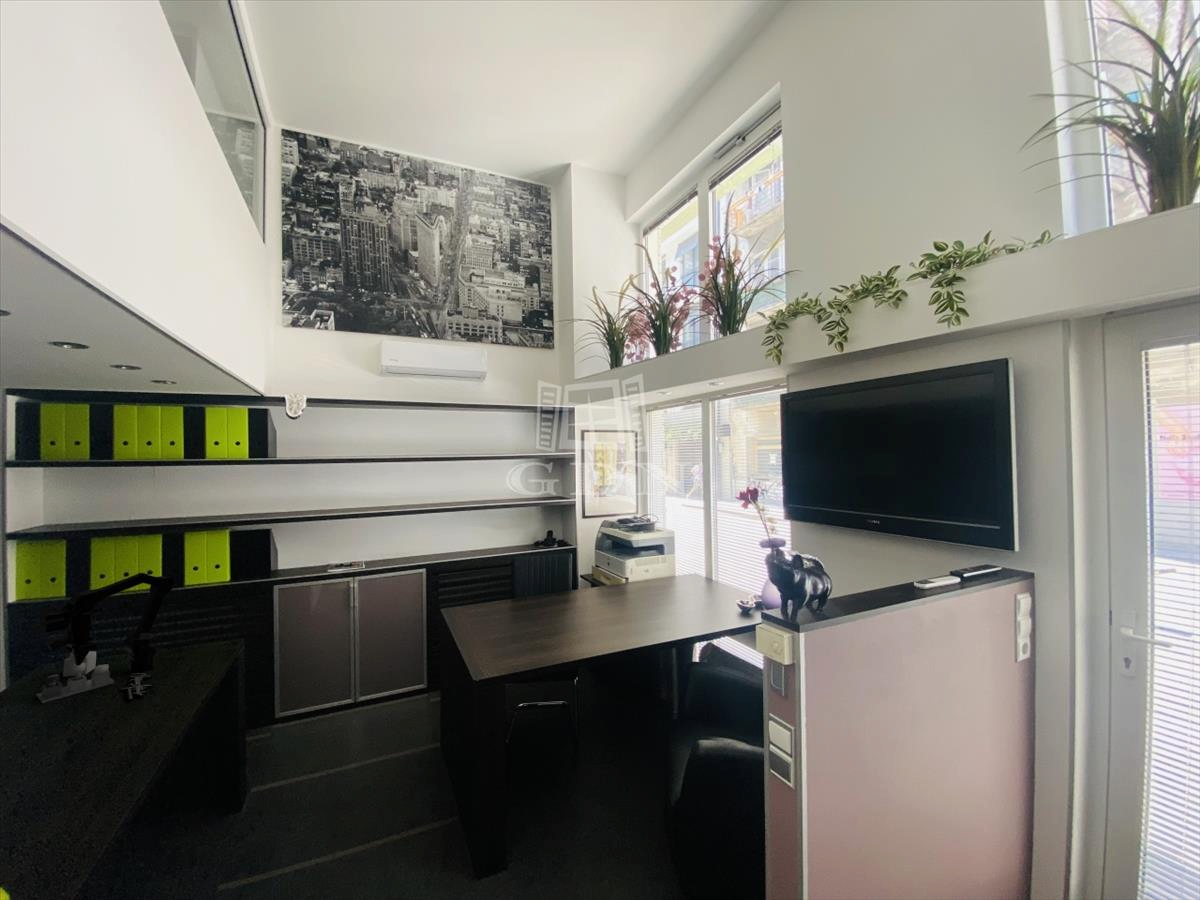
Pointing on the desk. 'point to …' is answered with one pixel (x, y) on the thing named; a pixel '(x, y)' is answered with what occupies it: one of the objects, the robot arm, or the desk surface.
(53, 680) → the pot knob
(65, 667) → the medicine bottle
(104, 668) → the knob
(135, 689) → the nameplate
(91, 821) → the desk surface
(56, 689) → the mount strip
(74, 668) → the knob
